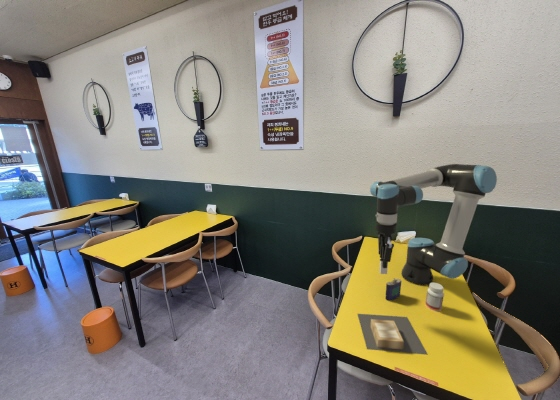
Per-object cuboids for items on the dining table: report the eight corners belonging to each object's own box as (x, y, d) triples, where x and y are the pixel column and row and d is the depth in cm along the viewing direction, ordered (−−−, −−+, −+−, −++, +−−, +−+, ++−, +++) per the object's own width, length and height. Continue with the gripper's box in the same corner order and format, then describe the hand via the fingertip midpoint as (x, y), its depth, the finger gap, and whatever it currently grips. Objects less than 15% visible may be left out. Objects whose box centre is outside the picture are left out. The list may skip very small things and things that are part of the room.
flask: (396, 293, 112) (398, 274, 110) (402, 296, 110) (404, 277, 107) (383, 299, 109) (385, 279, 106) (388, 302, 106) (390, 283, 104)
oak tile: (394, 320, 90) (403, 341, 81) (393, 327, 91) (402, 349, 82) (371, 319, 92) (378, 339, 82) (370, 326, 92) (377, 347, 83)
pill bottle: (432, 301, 106) (435, 280, 103) (444, 310, 100) (448, 288, 97) (422, 304, 105) (424, 283, 102) (433, 313, 99) (437, 291, 96)
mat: (406, 317, 97) (407, 316, 97) (427, 355, 79) (427, 354, 79) (357, 314, 100) (357, 313, 100) (366, 349, 82) (367, 349, 82)
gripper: (372, 217, 97) (370, 264, 103) (381, 228, 85) (378, 281, 91) (390, 216, 96) (387, 265, 102) (402, 227, 84) (398, 282, 90)
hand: (383, 272), depth 96 cm, fingers closed
